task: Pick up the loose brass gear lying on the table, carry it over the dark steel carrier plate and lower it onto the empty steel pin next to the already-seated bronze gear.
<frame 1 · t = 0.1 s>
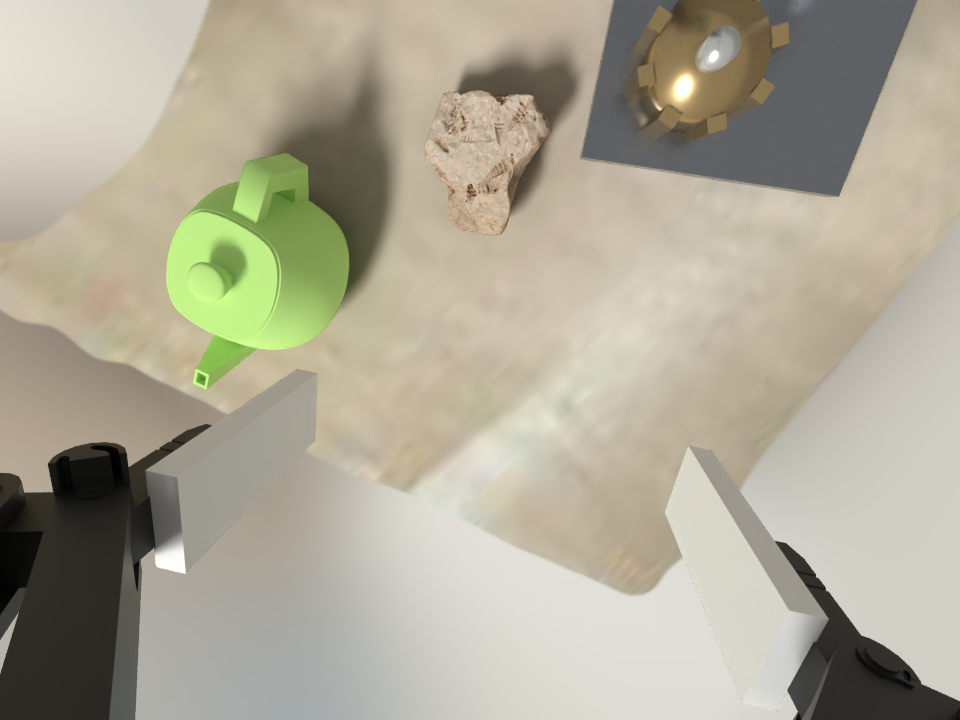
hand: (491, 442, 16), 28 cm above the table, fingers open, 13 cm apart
teapot: (295, 263, 44), on the table
stone: (495, 160, 39), on the table
carrier: (743, 35, 34), on the table
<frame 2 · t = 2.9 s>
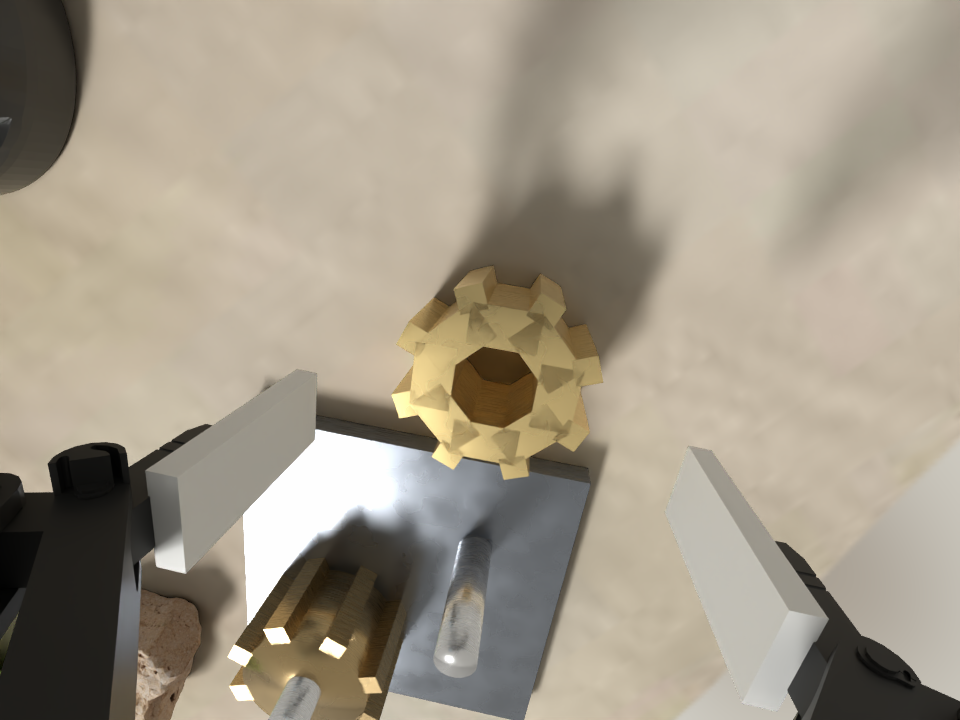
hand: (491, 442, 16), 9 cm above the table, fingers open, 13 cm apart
stone: (171, 627, 35), on the table
carrier: (402, 566, 30), on the table
planet gear: (502, 351, 24), on the table
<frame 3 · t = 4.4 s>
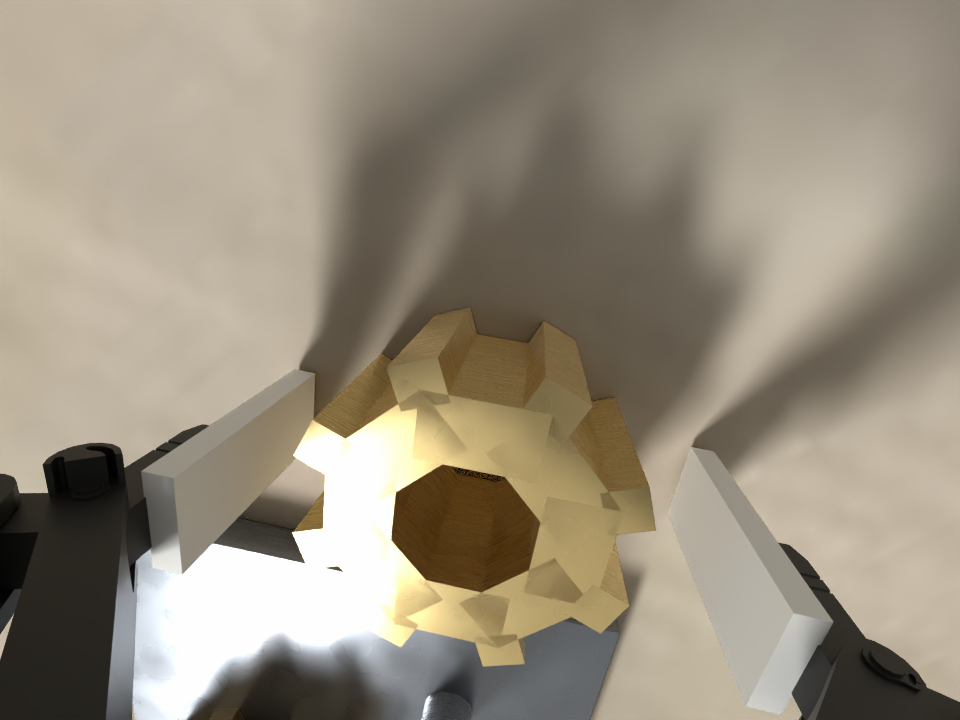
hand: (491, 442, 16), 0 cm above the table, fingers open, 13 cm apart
carrier: (352, 709, 22), on the table
planet gear: (485, 434, 16), on the table
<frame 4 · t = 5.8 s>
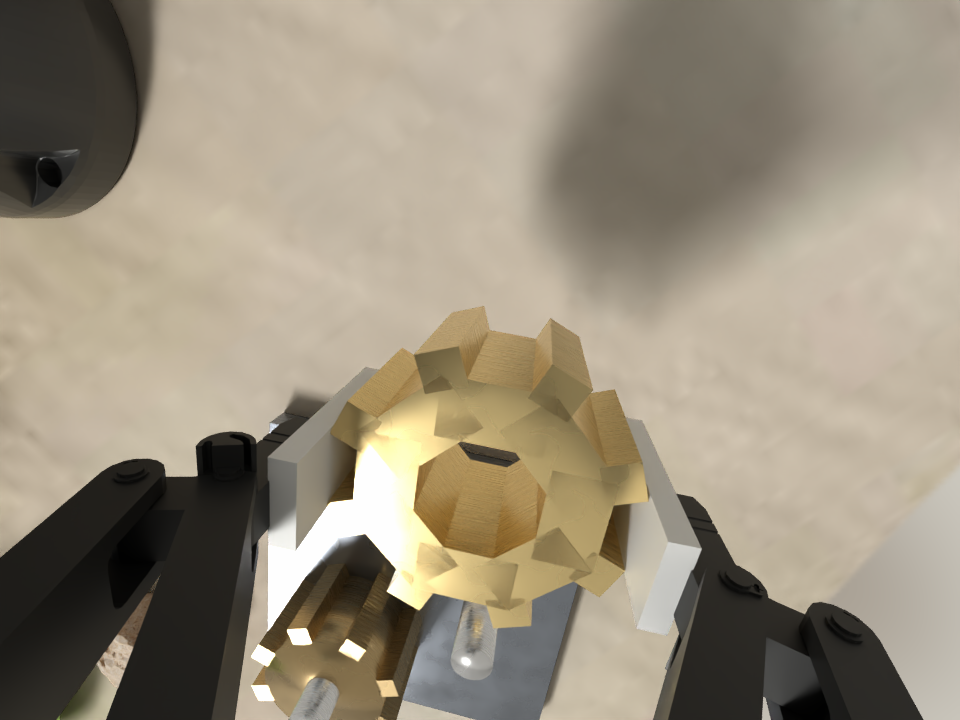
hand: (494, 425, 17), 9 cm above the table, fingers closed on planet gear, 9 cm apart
stone: (186, 632, 37), on the table
carrier: (418, 574, 31), on the table
planet gear: (496, 423, 17), point 8 cm above the table, touching gripper
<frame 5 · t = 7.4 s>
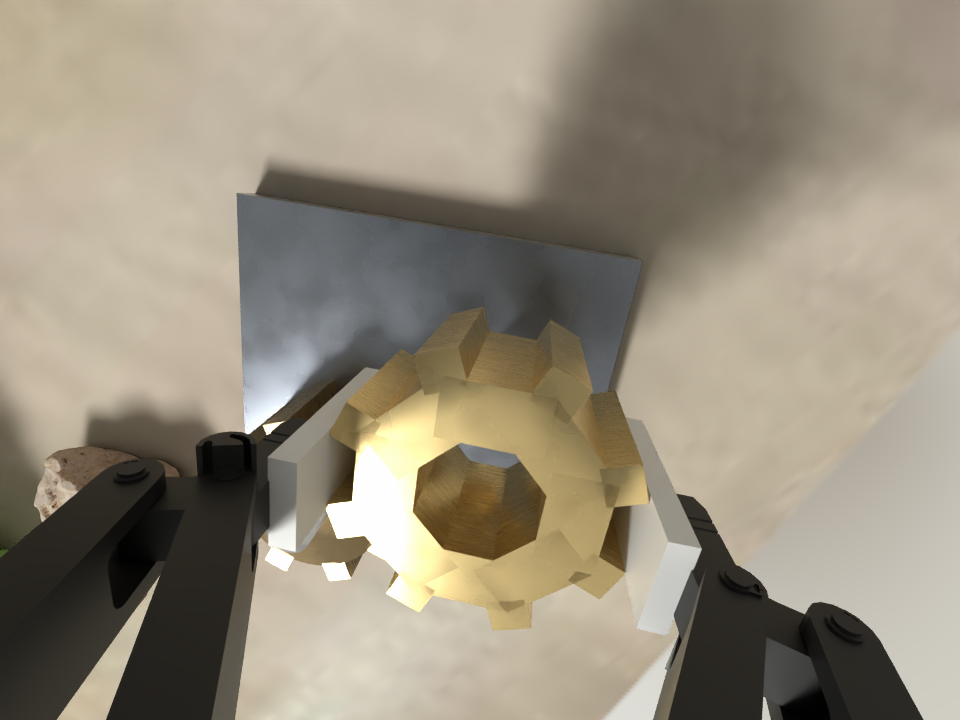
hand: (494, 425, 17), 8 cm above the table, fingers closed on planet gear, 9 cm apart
stone: (150, 500, 32), on the table
carrier: (419, 399, 27), on the table
planet gear: (495, 424, 17), point 8 cm above the table, touching gripper
when the fingers open (2 cm above the table, at t = 9.5 s): planet gear stays where it is, resting on carrier.
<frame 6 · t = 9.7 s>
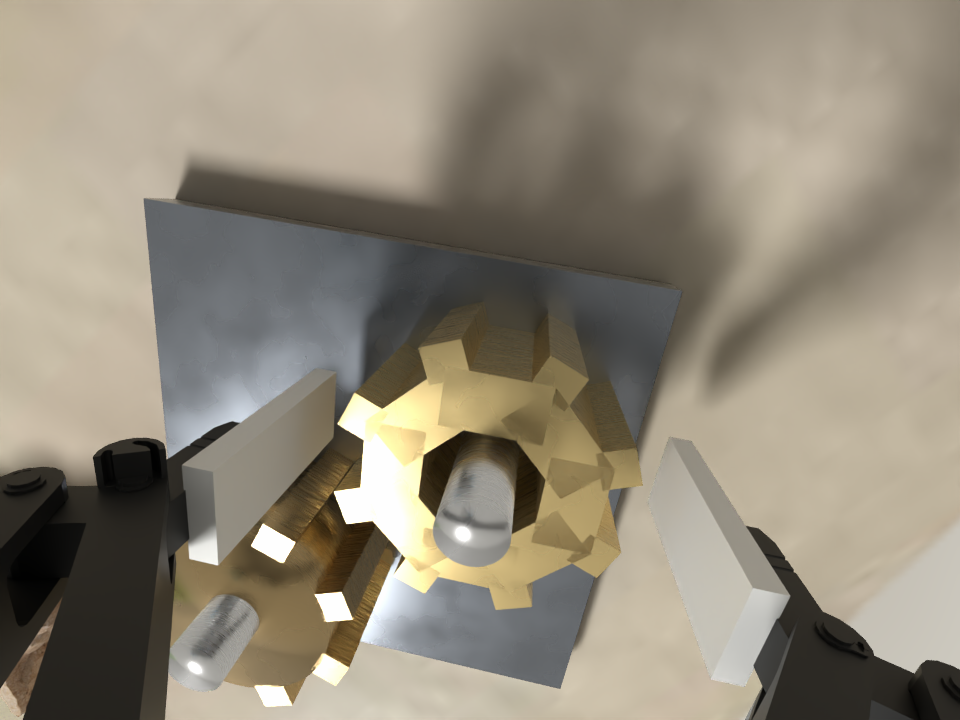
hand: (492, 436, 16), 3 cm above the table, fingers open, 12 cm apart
stone: (65, 569, 27), on the table
carrier: (390, 458, 21), on the table
planet gear: (496, 415, 18), point 1 cm above the table, touching carrier
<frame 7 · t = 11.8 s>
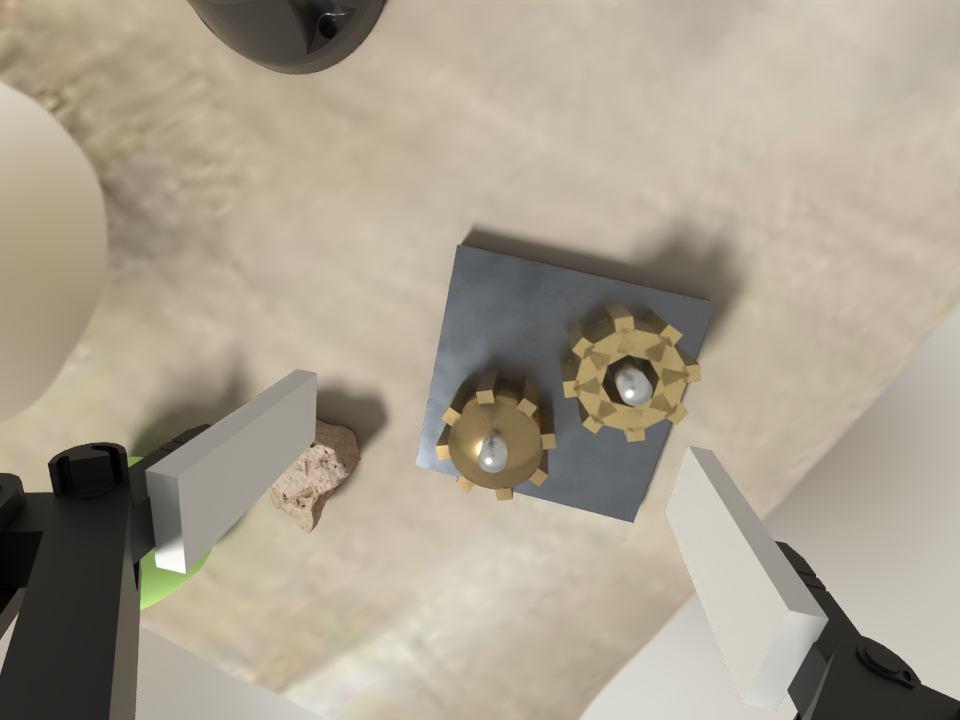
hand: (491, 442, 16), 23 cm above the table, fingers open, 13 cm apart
teapot: (176, 502, 49), on the table
stone: (322, 455, 45), on the table
carrier: (550, 386, 39), on the table
planet gear: (618, 360, 36), point 1 cm above the table, touching carrier
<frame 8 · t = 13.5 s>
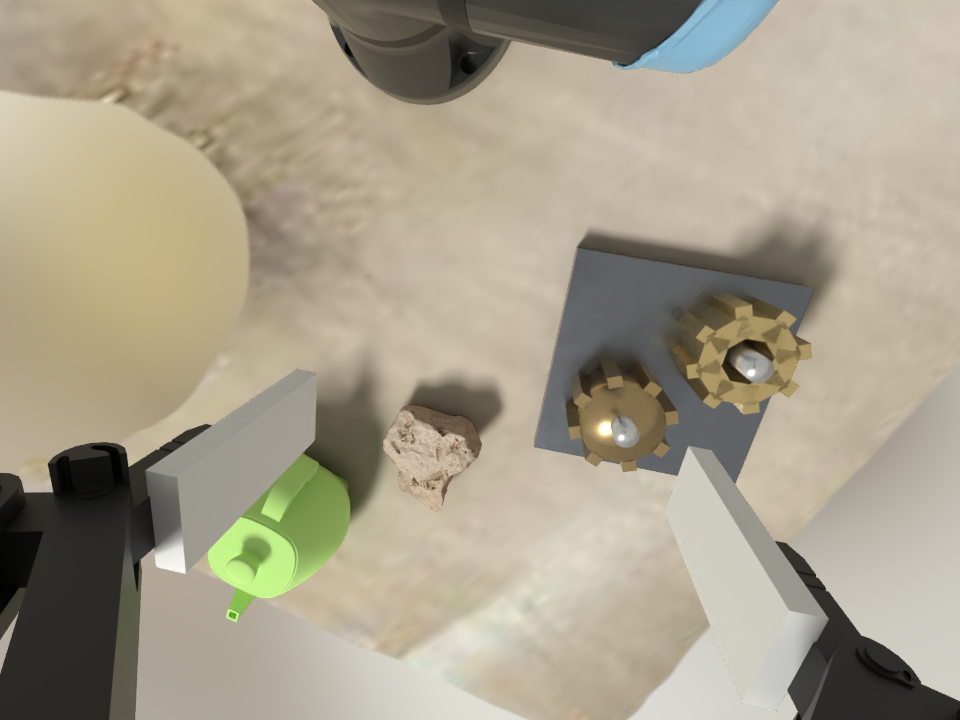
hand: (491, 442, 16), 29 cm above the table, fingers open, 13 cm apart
teapot: (306, 492, 54), on the table
stone: (440, 443, 50), on the table
carrier: (656, 369, 44), on the table
planet gear: (723, 343, 41), point 1 cm above the table, touching carrier
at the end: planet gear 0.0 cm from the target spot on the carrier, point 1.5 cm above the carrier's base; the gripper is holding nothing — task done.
